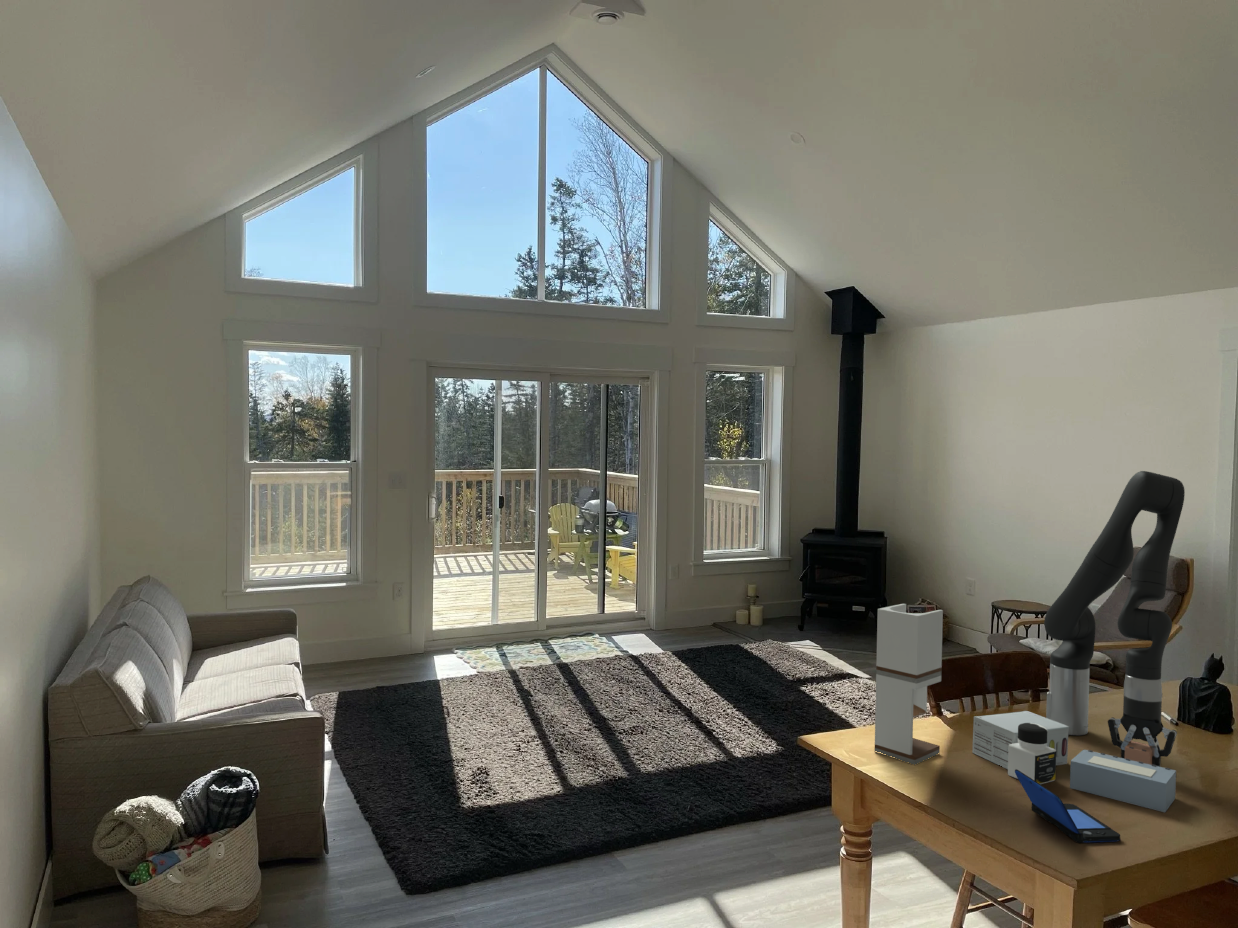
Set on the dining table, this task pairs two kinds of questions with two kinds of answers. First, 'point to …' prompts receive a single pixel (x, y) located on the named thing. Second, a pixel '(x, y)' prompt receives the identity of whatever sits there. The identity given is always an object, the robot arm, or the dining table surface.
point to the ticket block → (1123, 780)
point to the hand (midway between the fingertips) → (1140, 768)
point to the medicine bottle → (1032, 754)
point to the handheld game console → (1065, 814)
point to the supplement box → (1014, 735)
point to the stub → (1139, 752)
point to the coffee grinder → (905, 679)
